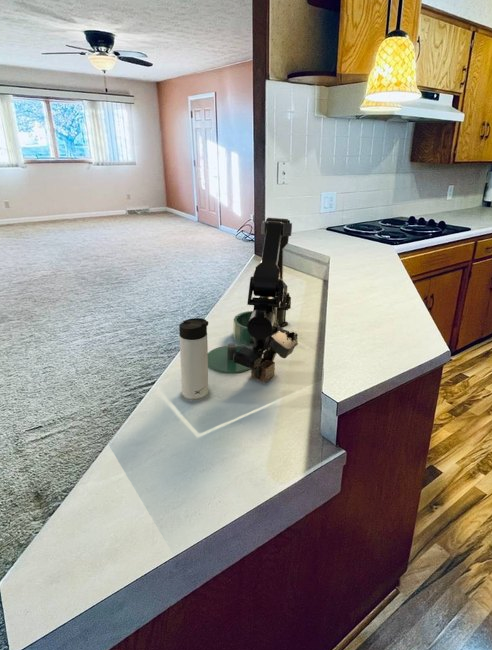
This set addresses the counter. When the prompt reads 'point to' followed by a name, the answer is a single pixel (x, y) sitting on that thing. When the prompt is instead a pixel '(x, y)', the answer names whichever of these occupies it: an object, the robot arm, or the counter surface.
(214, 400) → the counter surface
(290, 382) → the counter surface
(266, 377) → the block
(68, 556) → the counter surface
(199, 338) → the travel mug
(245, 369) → the lid
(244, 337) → the pot
